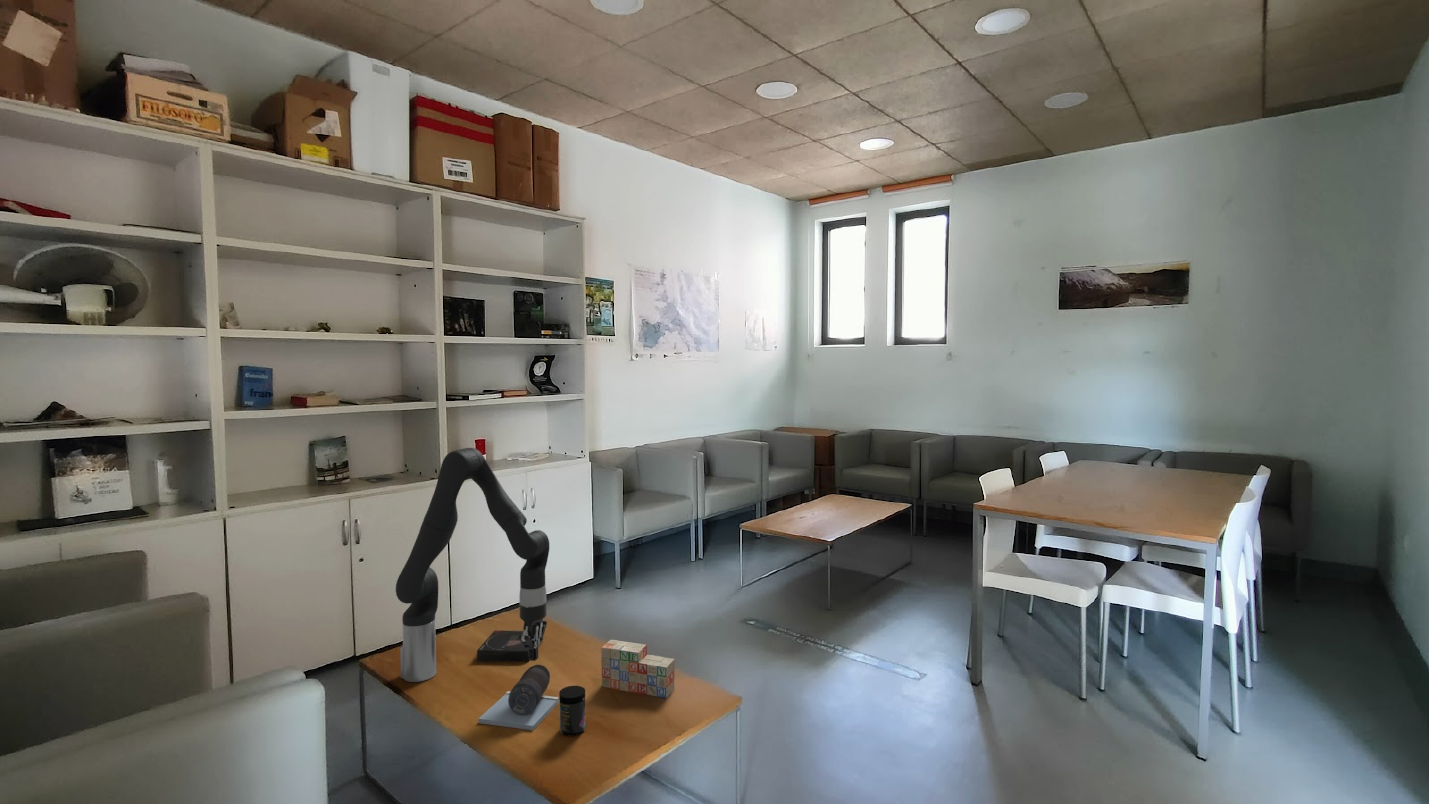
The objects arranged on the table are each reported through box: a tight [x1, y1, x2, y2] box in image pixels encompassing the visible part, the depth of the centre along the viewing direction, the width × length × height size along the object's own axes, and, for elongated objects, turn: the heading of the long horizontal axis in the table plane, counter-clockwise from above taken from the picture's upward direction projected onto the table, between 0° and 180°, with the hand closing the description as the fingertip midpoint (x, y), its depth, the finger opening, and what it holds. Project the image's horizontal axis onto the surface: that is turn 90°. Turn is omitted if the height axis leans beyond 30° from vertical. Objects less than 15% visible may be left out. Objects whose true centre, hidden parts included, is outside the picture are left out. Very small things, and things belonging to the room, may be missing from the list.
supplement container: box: [558, 685, 586, 737], centre depth 176 cm, size 7×7×10 cm
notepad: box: [478, 690, 559, 731], centre depth 185 cm, size 16×15×2 cm
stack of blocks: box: [600, 639, 676, 699], centre depth 199 cm, size 21×6×12 cm, turn 70°
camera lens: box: [508, 664, 551, 715], centre depth 188 cm, size 8×8×15 cm
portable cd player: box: [476, 630, 544, 663], centre depth 225 cm, size 16×17×4 cm
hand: (533, 659), depth 194 cm, fingers closed
